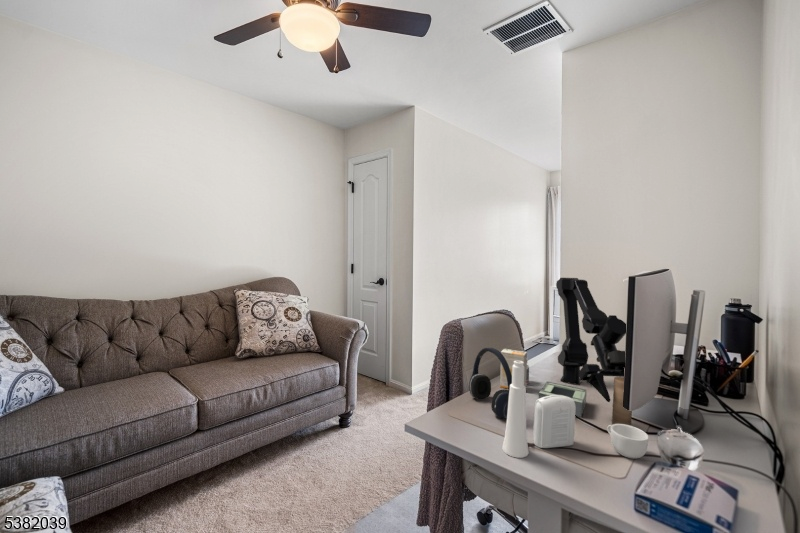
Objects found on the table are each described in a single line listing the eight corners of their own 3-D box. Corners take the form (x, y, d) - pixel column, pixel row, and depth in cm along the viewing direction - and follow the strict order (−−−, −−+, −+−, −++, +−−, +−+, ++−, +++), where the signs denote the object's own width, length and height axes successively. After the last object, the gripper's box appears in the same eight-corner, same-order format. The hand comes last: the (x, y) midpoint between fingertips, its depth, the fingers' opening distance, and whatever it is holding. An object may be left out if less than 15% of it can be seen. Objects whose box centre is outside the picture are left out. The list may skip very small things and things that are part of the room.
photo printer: (565, 437, 93) (567, 391, 92) (576, 446, 89) (579, 397, 88) (530, 441, 91) (532, 393, 90) (540, 450, 86) (542, 401, 86)
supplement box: (526, 388, 126) (527, 351, 125) (523, 392, 122) (524, 355, 121) (503, 383, 130) (504, 347, 130) (499, 387, 126) (500, 350, 125)
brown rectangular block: (612, 419, 103) (614, 375, 103) (631, 424, 101) (633, 379, 100) (611, 425, 100) (613, 380, 99) (630, 430, 97) (633, 384, 96)
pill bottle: (526, 380, 134) (527, 357, 133) (530, 385, 128) (531, 361, 128) (512, 379, 134) (513, 356, 134) (515, 384, 129) (516, 360, 128)
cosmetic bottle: (498, 444, 89) (501, 357, 88) (521, 443, 89) (525, 357, 88) (508, 458, 83) (511, 365, 82) (533, 457, 83) (536, 365, 82)
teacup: (655, 460, 83) (656, 438, 83) (629, 465, 81) (631, 442, 81) (618, 438, 93) (619, 418, 93) (595, 442, 91) (596, 421, 91)
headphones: (520, 421, 101) (523, 358, 100) (499, 424, 99) (502, 360, 98) (483, 393, 120) (485, 340, 120) (465, 395, 118) (467, 341, 117)
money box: (546, 394, 121) (546, 381, 120) (585, 403, 114) (586, 389, 114) (538, 406, 111) (538, 392, 110) (581, 417, 104) (581, 402, 104)
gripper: (584, 336, 104) (602, 388, 93) (651, 339, 102) (676, 391, 92) (572, 355, 112) (586, 404, 101) (633, 357, 111) (654, 408, 100)
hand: (625, 402), depth 98 cm, fingers open, 8 cm apart
